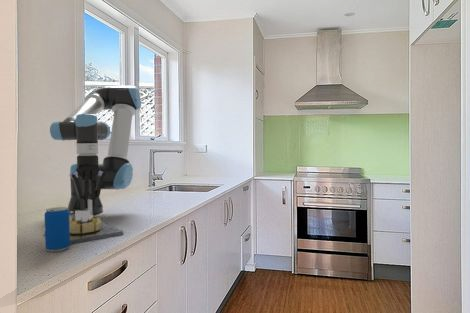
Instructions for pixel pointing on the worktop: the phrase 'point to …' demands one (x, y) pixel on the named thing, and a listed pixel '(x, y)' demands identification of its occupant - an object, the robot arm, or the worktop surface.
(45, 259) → the worktop surface
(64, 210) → the beverage can
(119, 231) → the base plate
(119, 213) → the worktop surface
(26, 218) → the worktop surface
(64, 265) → the worktop surface
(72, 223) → the grey lever
